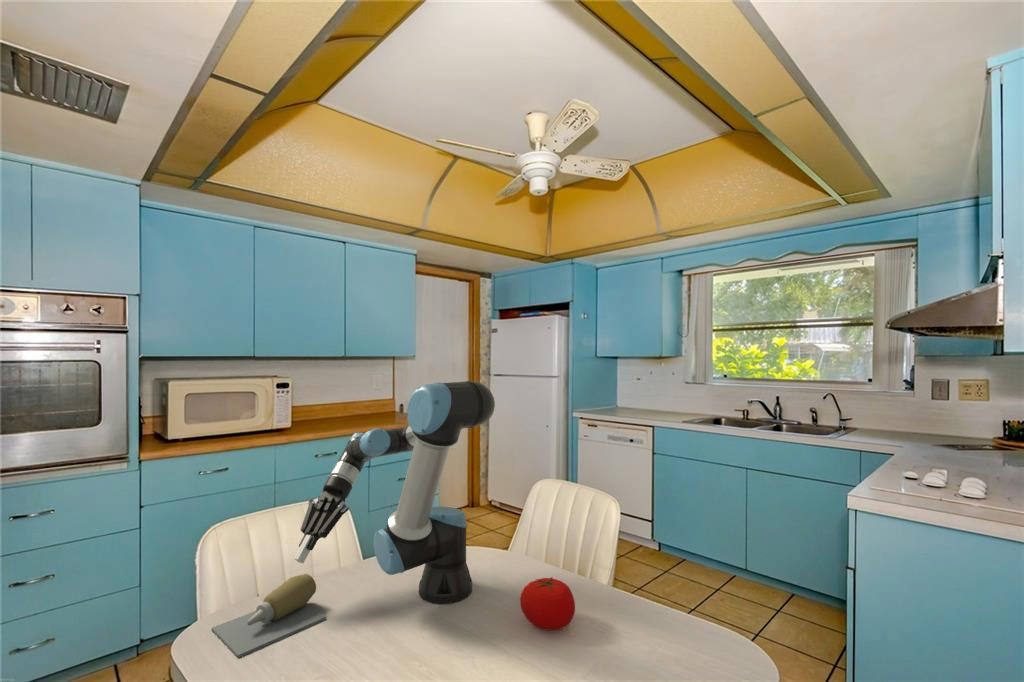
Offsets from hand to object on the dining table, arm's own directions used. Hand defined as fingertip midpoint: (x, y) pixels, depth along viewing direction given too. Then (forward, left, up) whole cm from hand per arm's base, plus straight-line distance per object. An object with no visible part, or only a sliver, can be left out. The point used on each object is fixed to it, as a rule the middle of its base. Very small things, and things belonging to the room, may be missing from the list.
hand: (298, 560), depth 131 cm
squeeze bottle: (+2, -4, -8) cm, 10 cm away
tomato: (-53, -39, -13) cm, 67 cm away
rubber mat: (-1, +8, -13) cm, 15 cm away
